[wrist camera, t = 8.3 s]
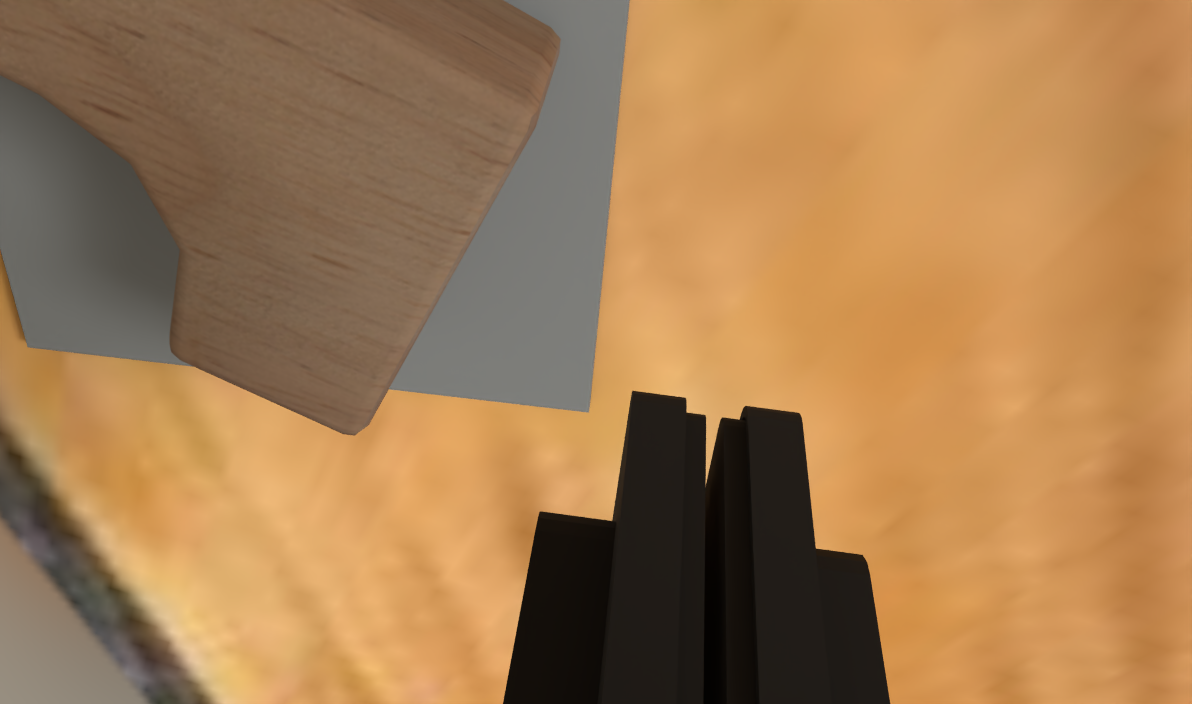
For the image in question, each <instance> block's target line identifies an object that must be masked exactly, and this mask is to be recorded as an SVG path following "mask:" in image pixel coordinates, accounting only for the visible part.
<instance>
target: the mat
mask: <svg viewBox="0 0 1192 704" xmlns="http://www.w3.org/2000/svg"><path fill="white" fill-rule="evenodd" d="M504 1H505V2H507V3H509V4H511V5H513V6H514V7H516V8H518V9H520V10H521V11H523V12H525V13H527V14H528V15H530V16H532V17H534V18H535V19H537V20H539V21H541V22H542V23H544V24H546V25H548V26H549V27H551V28H552V29H553V30H554V32H555V33H556V34H557V35H558V36H559V38H560V39H561V42H560V52H559V57H558V60H557V63H556V66H555V69H554V72H553V75H552V78H551V81H550V85H549V88H548V91H547V94H546V97H545V100H544V103H543V106H542V109H541V113H540V116H539V119H538V122H537V125H536V128H535V129H534V131H533V133H532V135H531V136H530V138H529V140H528V142H527V144H526V145H525V147H524V149H523V151H522V153H521V154H520V156H519V158H518V160H517V161H516V163H515V165H514V167H513V169H512V170H511V172H510V174H509V176H508V177H507V179H506V181H505V183H504V185H503V186H502V188H501V190H500V192H499V193H498V195H497V197H496V199H495V201H494V202H493V204H492V206H491V208H490V209H489V211H488V213H487V215H486V217H485V218H484V220H483V222H482V224H481V226H480V227H479V229H478V231H477V233H476V234H475V236H474V238H473V240H472V242H471V243H470V245H469V247H468V249H467V250H466V252H465V254H464V256H463V258H462V259H461V261H460V263H459V265H458V266H457V268H456V270H455V272H454V274H453V275H452V277H451V279H450V281H449V282H448V284H447V286H446V288H445V290H444V291H443V293H442V295H441V297H440V299H439V300H438V302H437V304H436V306H435V307H434V309H433V311H432V313H431V315H430V316H429V318H428V320H427V322H426V323H425V325H424V327H423V329H422V331H421V332H420V334H419V336H418V338H417V340H416V341H415V343H414V345H413V347H412V348H411V350H410V352H409V354H408V356H407V357H406V359H405V361H404V363H403V364H402V366H401V368H400V370H399V372H398V373H397V375H396V377H395V379H394V381H393V382H392V384H391V386H390V388H389V389H392V390H400V391H409V392H417V393H426V394H435V395H443V396H452V397H460V398H469V399H478V400H486V401H495V402H504V403H512V404H521V405H529V406H538V407H547V408H555V409H564V410H572V411H581V412H589V407H590V399H591V389H592V378H593V368H594V358H595V348H596V338H597V327H598V317H599V307H600V297H601V287H602V276H603V266H604V256H605V246H606V236H607V225H608V215H609V205H610V195H611V185H612V174H613V164H614V154H615V144H616V134H617V123H618V113H619V103H620V93H621V83H622V72H623V62H624V52H625V42H626V32H627V21H628V11H629V1H630V0H504ZM0 250H1V254H2V257H3V261H4V264H5V268H6V272H7V275H8V279H9V282H10V286H11V289H12V293H13V296H14V300H15V303H16V307H17V311H18V314H19V318H20V321H21V325H22V328H23V332H24V335H25V339H26V343H27V346H28V347H30V348H39V349H47V350H56V351H64V352H73V353H82V354H90V355H99V356H107V357H116V358H125V359H133V360H142V361H150V362H159V363H168V364H176V365H185V366H192V365H190V364H187V363H185V362H183V361H181V360H179V359H178V358H177V357H176V356H175V355H174V354H173V353H171V349H170V344H169V334H170V326H171V317H172V309H173V301H174V293H175V284H176V276H177V268H178V260H179V251H180V250H179V248H178V246H177V244H176V243H175V241H174V239H173V237H172V236H171V234H170V232H169V230H168V229H167V227H166V225H165V223H164V222H163V220H162V218H161V216H160V215H159V213H158V211H157V209H156V208H155V206H154V204H153V202H152V201H151V199H150V197H149V195H148V194H147V192H146V190H145V188H144V187H143V185H142V183H141V182H140V180H139V178H138V176H137V175H136V173H135V171H134V169H133V168H132V166H131V164H130V163H128V162H127V161H126V160H124V159H123V158H122V157H120V156H119V155H118V154H116V153H115V152H114V151H113V150H111V149H110V148H109V147H107V146H106V145H105V144H103V143H102V142H101V141H99V140H98V139H97V138H95V137H94V136H93V135H91V134H90V133H89V132H88V131H86V130H85V129H84V128H82V127H81V126H80V125H78V124H77V123H76V122H74V121H73V120H72V119H70V118H69V117H68V116H66V115H65V114H64V113H62V112H61V111H60V110H59V109H57V108H56V107H55V106H53V105H52V104H51V103H49V102H48V101H47V100H45V99H44V98H43V97H41V96H40V95H39V94H37V93H35V92H33V91H31V90H29V89H27V88H25V87H23V86H21V85H19V84H17V83H15V82H13V81H11V80H9V79H7V78H5V77H3V76H1V75H0Z"/></svg>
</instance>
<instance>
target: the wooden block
mask: <svg viewBox="0 0 1192 704" xmlns="http://www.w3.org/2000/svg"><path fill="white" fill-rule="evenodd" d="M560 42H561V39H560V38H559V36H558V35H557V34H556V33H555V32H554V30H553V29H552V28H551V27H549V26H548V25H546V24H544V23H542V22H541V21H539V20H537V19H535V18H534V17H532V16H530V15H528V14H527V13H525V12H523V11H521V10H520V9H518V8H516V7H514V6H513V5H511V4H509V3H507V2H505V1H504V0H0V75H1V76H3V77H5V78H7V79H9V80H11V81H13V82H15V83H17V84H19V85H21V86H23V87H25V88H27V89H29V90H31V91H33V92H35V93H37V94H39V95H40V96H41V97H43V98H44V99H45V100H47V101H48V102H49V103H51V104H52V105H53V106H55V107H56V108H57V109H59V110H60V111H61V112H62V113H64V114H65V115H66V116H68V117H69V118H70V119H72V120H73V121H74V122H76V123H77V124H78V125H80V126H81V127H82V128H84V129H85V130H86V131H88V132H89V133H90V134H91V135H93V136H94V137H95V138H97V139H98V140H99V141H101V142H102V143H103V144H105V145H106V146H107V147H109V148H110V149H111V150H113V151H114V152H115V153H116V154H118V155H119V156H120V157H122V158H123V159H124V160H126V161H127V162H128V163H130V164H131V166H132V168H133V169H134V171H135V173H136V175H137V176H138V178H139V180H140V182H141V183H142V185H143V187H144V188H145V190H146V192H147V194H148V195H149V197H150V199H151V201H152V202H153V204H154V206H155V208H156V209H157V211H158V213H159V215H160V216H161V218H162V220H163V222H164V223H165V225H166V227H167V229H168V230H169V232H170V234H171V236H172V237H173V239H174V241H175V243H176V244H177V246H178V248H179V250H180V251H179V260H178V268H177V276H176V284H175V293H174V301H173V309H172V317H171V326H170V334H169V344H170V349H171V353H173V354H174V355H175V356H176V357H177V358H178V359H179V360H181V361H183V362H185V363H187V364H190V365H192V366H194V367H196V368H198V369H201V370H203V371H205V372H207V373H209V374H212V375H214V376H216V377H218V378H221V379H223V380H225V381H227V382H229V383H232V384H234V385H236V386H238V387H240V388H243V389H245V390H247V391H249V392H251V393H254V394H256V395H258V396H260V397H263V398H265V399H267V400H269V401H271V402H274V403H276V404H278V405H280V406H282V407H285V408H287V409H289V410H291V411H293V412H296V413H298V414H300V415H302V416H305V417H307V418H309V419H311V420H313V421H316V422H318V423H320V424H322V425H324V426H327V427H329V428H331V429H333V430H335V431H338V432H340V433H342V434H347V435H356V434H357V433H358V432H360V431H361V430H362V429H364V428H365V427H367V426H368V425H369V423H370V422H371V420H372V418H373V416H374V414H375V413H376V411H377V409H378V407H379V406H380V404H381V402H382V400H383V398H384V397H385V395H386V393H387V391H388V389H389V388H390V386H391V384H392V382H393V381H394V379H395V377H396V375H397V373H398V372H399V370H400V368H401V366H402V364H403V363H404V361H405V359H406V357H407V356H408V354H409V352H410V350H411V348H412V347H413V345H414V343H415V341H416V340H417V338H418V336H419V334H420V332H421V331H422V329H423V327H424V325H425V323H426V322H427V320H428V318H429V316H430V315H431V313H432V311H433V309H434V307H435V306H436V304H437V302H438V300H439V299H440V297H441V295H442V293H443V291H444V290H445V288H446V286H447V284H448V282H449V281H450V279H451V277H452V275H453V274H454V272H455V270H456V268H457V266H458V265H459V263H460V261H461V259H462V258H463V256H464V254H465V252H466V250H467V249H468V247H469V245H470V243H471V242H472V240H473V238H474V236H475V234H476V233H477V231H478V229H479V227H480V226H481V224H482V222H483V220H484V218H485V217H486V215H487V213H488V211H489V209H490V208H491V206H492V204H493V202H494V201H495V199H496V197H497V195H498V193H499V192H500V190H501V188H502V186H503V185H504V183H505V181H506V179H507V177H508V176H509V174H510V172H511V170H512V169H513V167H514V165H515V163H516V161H517V160H518V158H519V156H520V154H521V153H522V151H523V149H524V147H525V145H526V144H527V142H528V140H529V138H530V136H531V135H532V133H533V131H534V129H535V128H536V125H537V122H538V119H539V116H540V113H541V109H542V106H543V103H544V100H545V97H546V94H547V91H548V88H549V85H550V81H551V78H552V75H553V72H554V69H555V66H556V63H557V60H558V57H559V52H560Z"/></svg>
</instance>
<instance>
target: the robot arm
mask: <svg viewBox="0 0 1192 704" xmlns="http://www.w3.org/2000/svg"><path fill="white" fill-rule="evenodd" d="M705 480H706V416H705V415H700V414H693V413H686V398H682V397H675V396H667V395H660V394H652V393H645V392H637V391H632V395H631V401H630V408H629V414H628V421H627V428H626V434H625V441H624V447H623V454H622V461H621V467H620V474H619V480H618V487H617V494H616V500H615V507H614V514H613V520H612V521H607V520H600V519H592V518H585V517H578V516H570V515H563V514H555V513H548V512H541V511H540V513H539V516H538V521H537V526H536V530H535V536H534V541H533V546H532V552H531V557H530V563H529V568H528V573H527V579H526V584H525V589H524V595H523V600H522V605H521V611H520V616H519V621H518V627H517V632H516V637H515V643H514V648H513V653H512V659H511V664H510V669H509V675H508V680H507V685H506V691H505V696H504V702H503V704H890V700H889V693H888V687H887V680H886V674H885V668H884V661H883V655H882V648H881V642H880V636H879V629H878V623H877V616H876V610H875V604H874V597H873V591H872V584H871V578H870V573H869V569H868V565H867V562H866V560H865V558H864V557H863V555H859V554H852V553H844V552H837V551H830V550H822V549H816V547H815V537H814V528H813V518H812V509H811V499H810V490H809V480H808V470H807V461H806V451H805V442H804V432H803V423H802V418H801V415H800V414H799V413H795V412H788V411H780V410H772V409H765V408H757V407H750V406H745V407H744V408H743V411H742V413H741V417H740V420H738V419H730V418H721V421H720V424H719V428H718V432H717V437H716V442H715V446H714V451H713V455H712V460H711V465H710V469H709V474H708V479H707V483H706V488H705Z"/></svg>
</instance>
